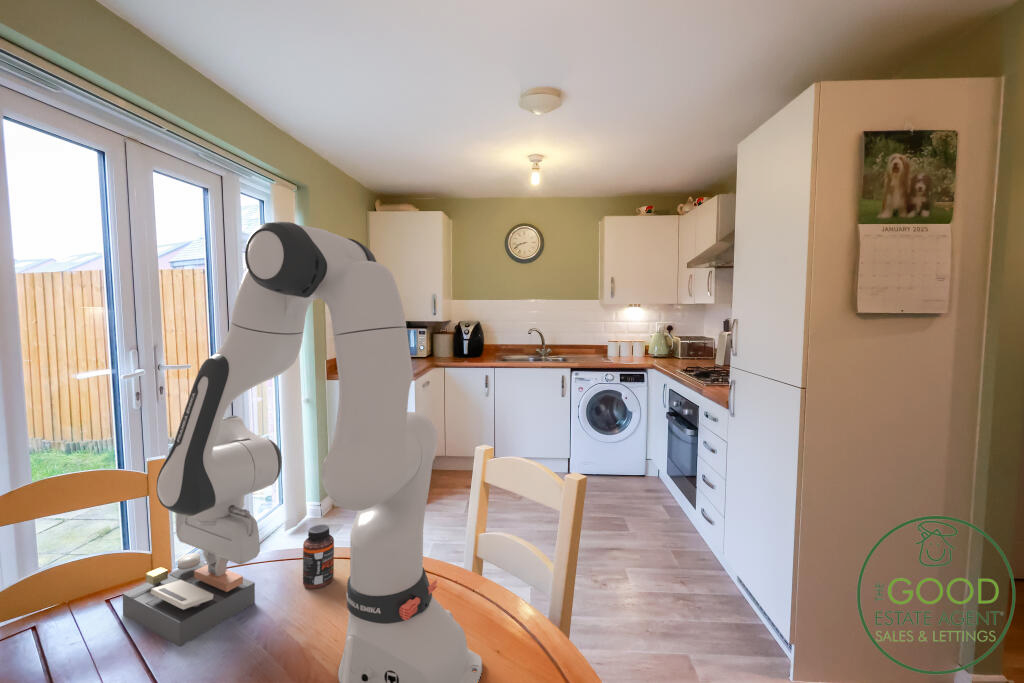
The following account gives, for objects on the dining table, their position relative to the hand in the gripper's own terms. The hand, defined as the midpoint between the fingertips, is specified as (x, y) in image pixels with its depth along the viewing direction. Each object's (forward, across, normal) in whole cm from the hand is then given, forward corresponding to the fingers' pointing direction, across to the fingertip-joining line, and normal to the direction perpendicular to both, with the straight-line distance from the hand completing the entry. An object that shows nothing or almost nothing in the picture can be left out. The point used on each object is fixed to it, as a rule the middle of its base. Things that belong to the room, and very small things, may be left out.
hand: (217, 573), depth 84 cm
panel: (+6, +3, +3) cm, 8 cm away
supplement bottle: (+6, -11, -14) cm, 19 cm away
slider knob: (+2, +9, +5) cm, 11 cm away
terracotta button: (+2, 0, 0) cm, 2 cm away
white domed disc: (+1, +9, 0) cm, 9 cm away
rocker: (+1, 0, +6) cm, 6 cm away
